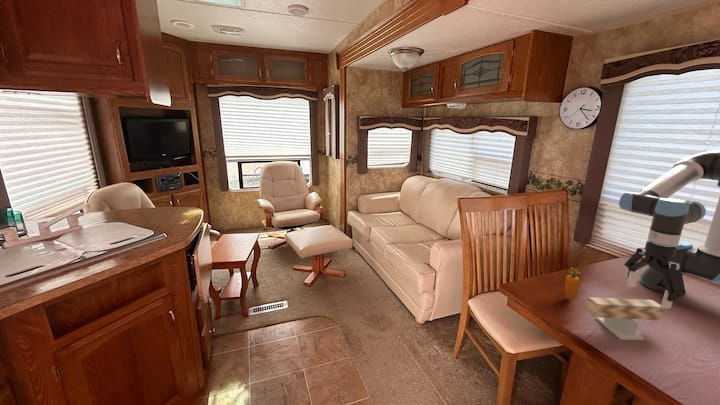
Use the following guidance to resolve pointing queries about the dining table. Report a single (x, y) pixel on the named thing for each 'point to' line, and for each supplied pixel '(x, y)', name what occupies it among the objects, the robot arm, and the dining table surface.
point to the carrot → (571, 284)
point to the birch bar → (623, 308)
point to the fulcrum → (622, 328)
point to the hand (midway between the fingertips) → (646, 296)
